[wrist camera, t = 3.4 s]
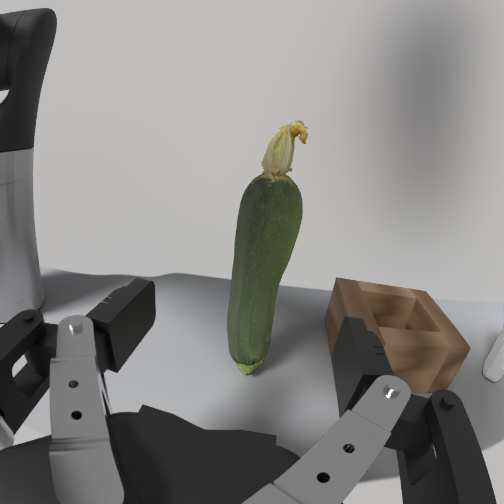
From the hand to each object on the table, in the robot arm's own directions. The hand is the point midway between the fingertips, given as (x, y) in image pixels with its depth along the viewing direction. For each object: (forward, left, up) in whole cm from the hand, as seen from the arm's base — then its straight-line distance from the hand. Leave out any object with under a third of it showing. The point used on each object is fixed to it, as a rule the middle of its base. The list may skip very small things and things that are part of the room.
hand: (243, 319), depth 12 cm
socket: (+14, +14, -11) cm, 22 cm away
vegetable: (0, +10, -11) cm, 15 cm away
